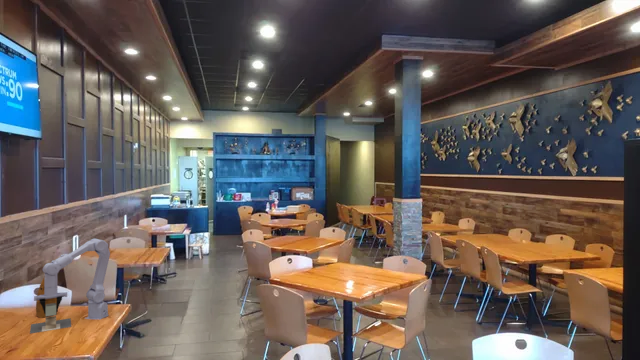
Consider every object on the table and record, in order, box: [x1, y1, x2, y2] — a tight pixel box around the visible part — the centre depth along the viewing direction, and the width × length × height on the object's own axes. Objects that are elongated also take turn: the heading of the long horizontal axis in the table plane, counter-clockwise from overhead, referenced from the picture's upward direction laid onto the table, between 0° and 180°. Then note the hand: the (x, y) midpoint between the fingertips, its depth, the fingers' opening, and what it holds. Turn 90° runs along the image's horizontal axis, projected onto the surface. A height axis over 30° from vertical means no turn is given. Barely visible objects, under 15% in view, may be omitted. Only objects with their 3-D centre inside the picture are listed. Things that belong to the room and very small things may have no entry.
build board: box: [29, 318, 72, 335], centre depth 220 cm, size 18×15×1 cm
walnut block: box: [45, 315, 57, 330], centre depth 217 cm, size 5×5×5 cm
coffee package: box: [35, 275, 58, 319], centre depth 238 cm, size 10×12×22 cm
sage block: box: [46, 303, 57, 317], centre depth 217 cm, size 5×5×5 cm
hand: (51, 312), depth 217 cm, fingers closed on sage block, 5 cm apart
